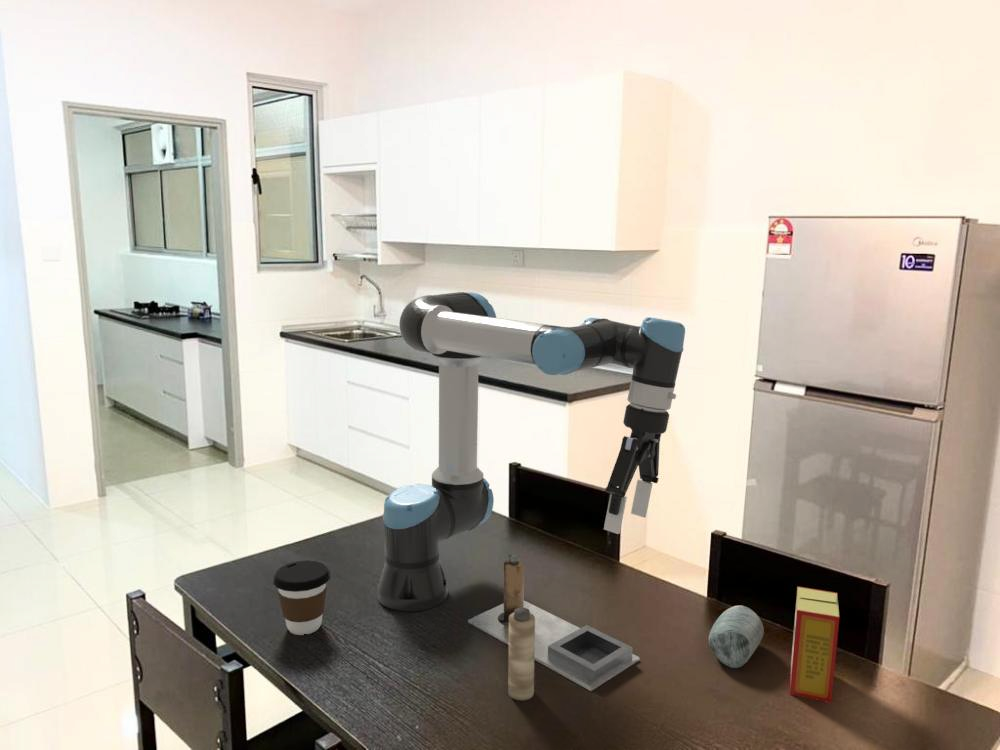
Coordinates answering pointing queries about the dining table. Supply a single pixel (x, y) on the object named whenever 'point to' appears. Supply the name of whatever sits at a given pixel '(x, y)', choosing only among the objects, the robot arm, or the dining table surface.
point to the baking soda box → (814, 643)
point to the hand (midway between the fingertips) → (625, 523)
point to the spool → (736, 636)
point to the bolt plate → (557, 636)
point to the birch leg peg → (521, 654)
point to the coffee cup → (302, 594)
